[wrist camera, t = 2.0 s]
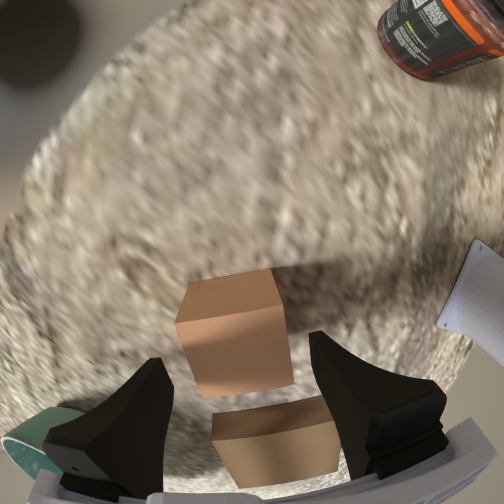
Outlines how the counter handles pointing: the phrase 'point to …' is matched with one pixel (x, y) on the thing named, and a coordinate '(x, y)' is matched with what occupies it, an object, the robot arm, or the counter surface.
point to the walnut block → (277, 443)
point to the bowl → (36, 440)
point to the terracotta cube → (235, 334)
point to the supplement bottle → (442, 34)
